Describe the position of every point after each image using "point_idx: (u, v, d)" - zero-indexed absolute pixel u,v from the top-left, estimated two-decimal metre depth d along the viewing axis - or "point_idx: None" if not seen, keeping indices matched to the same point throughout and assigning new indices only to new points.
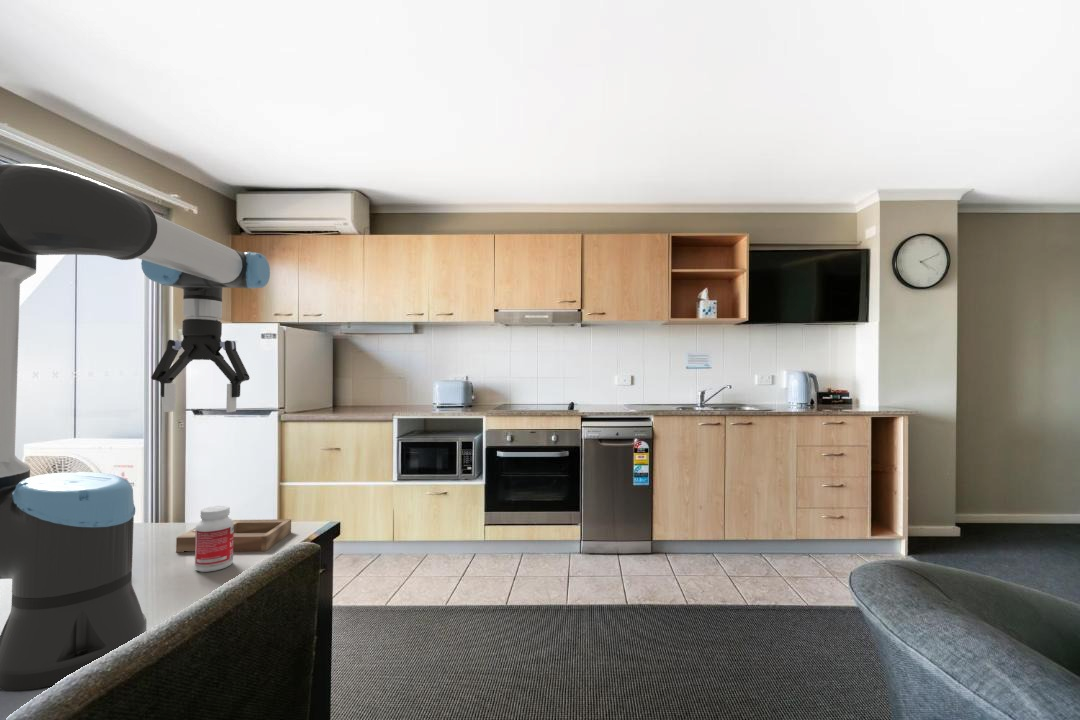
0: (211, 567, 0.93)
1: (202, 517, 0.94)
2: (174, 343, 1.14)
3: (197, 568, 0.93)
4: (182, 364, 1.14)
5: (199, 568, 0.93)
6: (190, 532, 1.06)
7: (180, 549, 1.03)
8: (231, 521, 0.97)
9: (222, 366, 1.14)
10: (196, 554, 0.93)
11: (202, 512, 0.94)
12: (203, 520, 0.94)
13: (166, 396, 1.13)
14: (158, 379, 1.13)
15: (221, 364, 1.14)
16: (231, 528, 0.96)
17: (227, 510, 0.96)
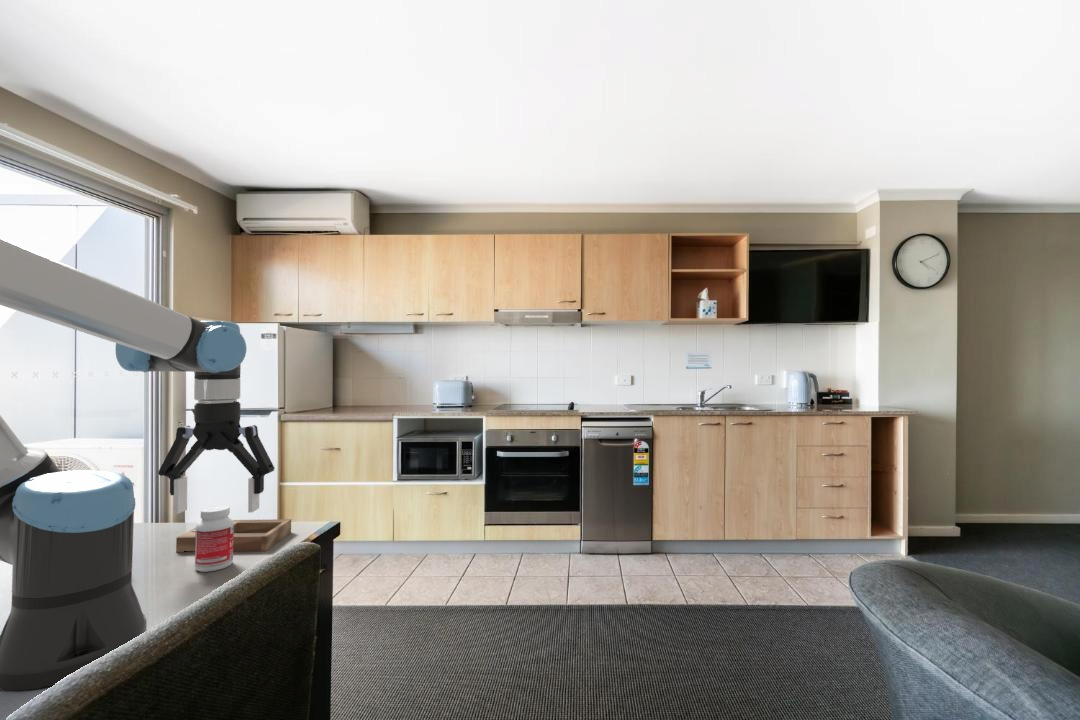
0: (211, 567, 0.93)
1: (202, 517, 0.94)
2: (185, 431, 0.95)
3: (197, 568, 0.93)
4: (194, 455, 0.96)
5: (199, 568, 0.93)
6: (190, 532, 1.06)
7: (180, 549, 1.03)
8: (231, 521, 0.97)
9: (242, 457, 0.96)
10: (196, 554, 0.93)
11: (202, 512, 0.94)
12: (203, 520, 0.94)
13: (176, 495, 0.95)
14: (166, 474, 0.95)
15: (240, 455, 0.96)
16: (231, 528, 0.96)
17: (227, 510, 0.96)
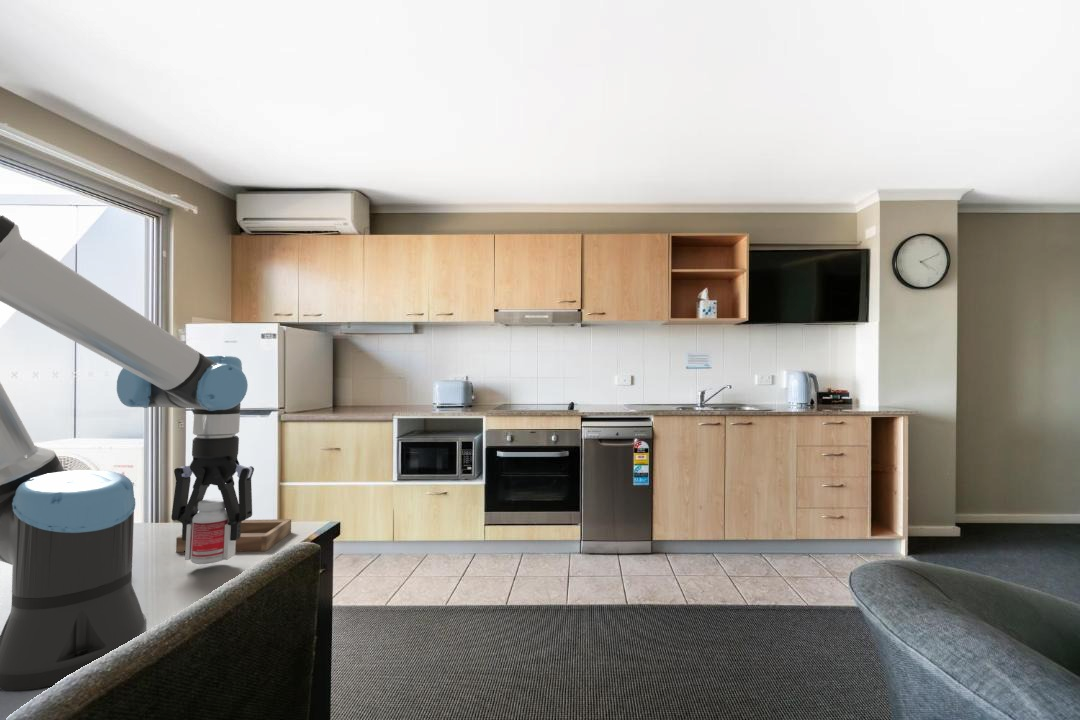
0: (207, 559, 0.92)
1: (199, 509, 0.94)
2: (182, 470, 0.95)
3: (193, 560, 0.92)
4: (200, 494, 0.95)
5: (195, 560, 0.92)
6: None
7: (180, 549, 1.03)
8: None
9: (227, 500, 0.95)
10: (192, 546, 0.93)
11: (199, 504, 0.94)
12: (200, 512, 0.94)
13: (188, 540, 0.94)
14: (179, 519, 0.95)
15: (227, 496, 0.95)
16: (228, 521, 0.96)
17: None
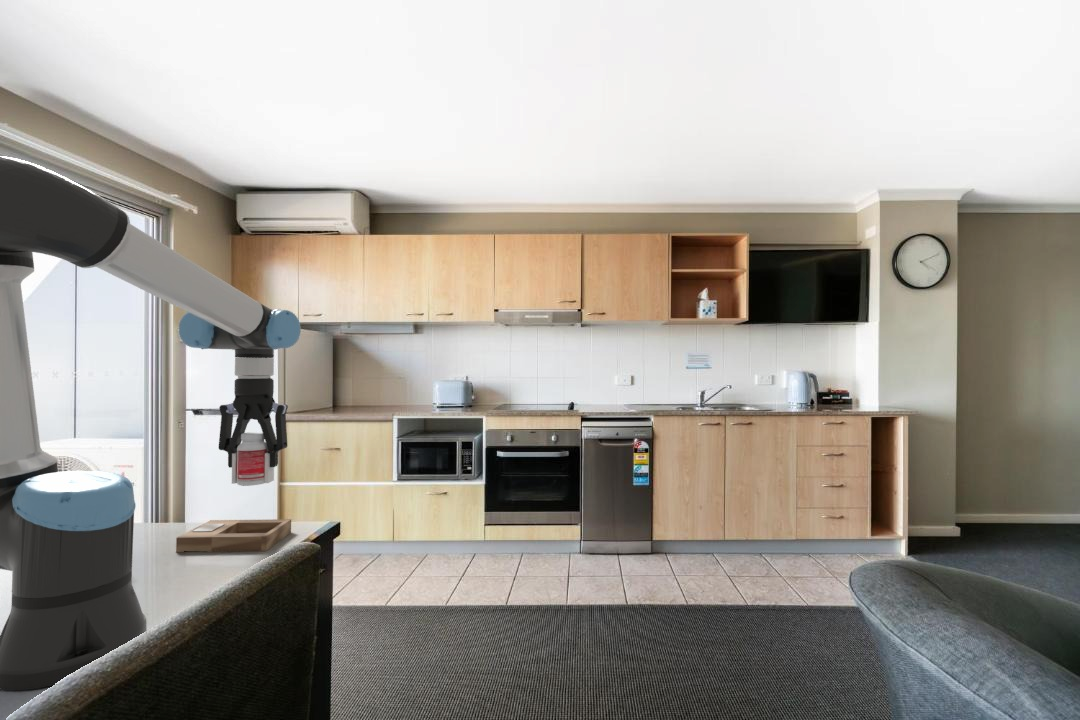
0: (251, 482, 1.07)
1: (243, 439, 1.08)
2: (226, 407, 1.09)
3: (239, 482, 1.07)
4: (242, 427, 1.10)
5: (241, 482, 1.07)
6: (190, 532, 1.06)
7: (180, 549, 1.03)
8: None
9: (266, 432, 1.09)
10: (238, 470, 1.08)
11: (242, 435, 1.08)
12: (243, 442, 1.09)
13: (234, 467, 1.09)
14: (225, 449, 1.09)
15: (266, 429, 1.09)
16: (267, 450, 1.11)
17: None
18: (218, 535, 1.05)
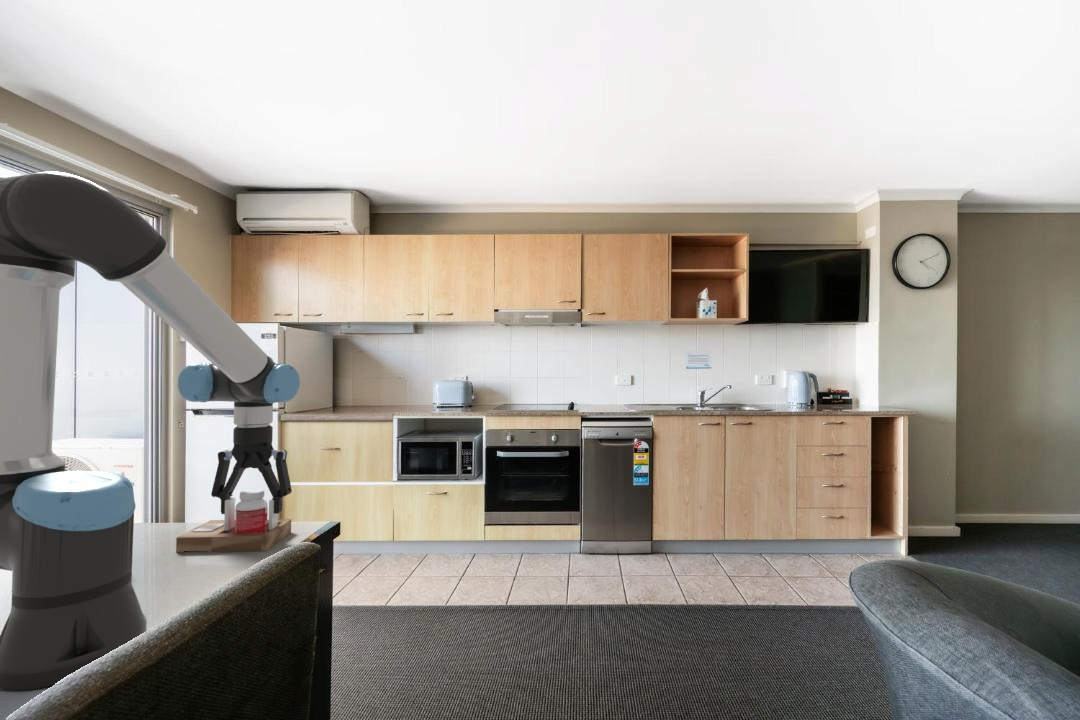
0: None
1: (241, 498, 1.08)
2: (224, 454, 1.09)
3: None
4: (238, 475, 1.09)
5: None
6: (190, 532, 1.06)
7: (180, 549, 1.03)
8: (266, 502, 1.11)
9: (268, 479, 1.09)
10: (236, 530, 1.07)
11: (241, 494, 1.08)
12: (242, 501, 1.08)
13: (227, 514, 1.08)
14: (217, 495, 1.09)
15: (267, 476, 1.09)
16: (266, 508, 1.10)
17: (262, 492, 1.10)
18: (218, 535, 1.05)
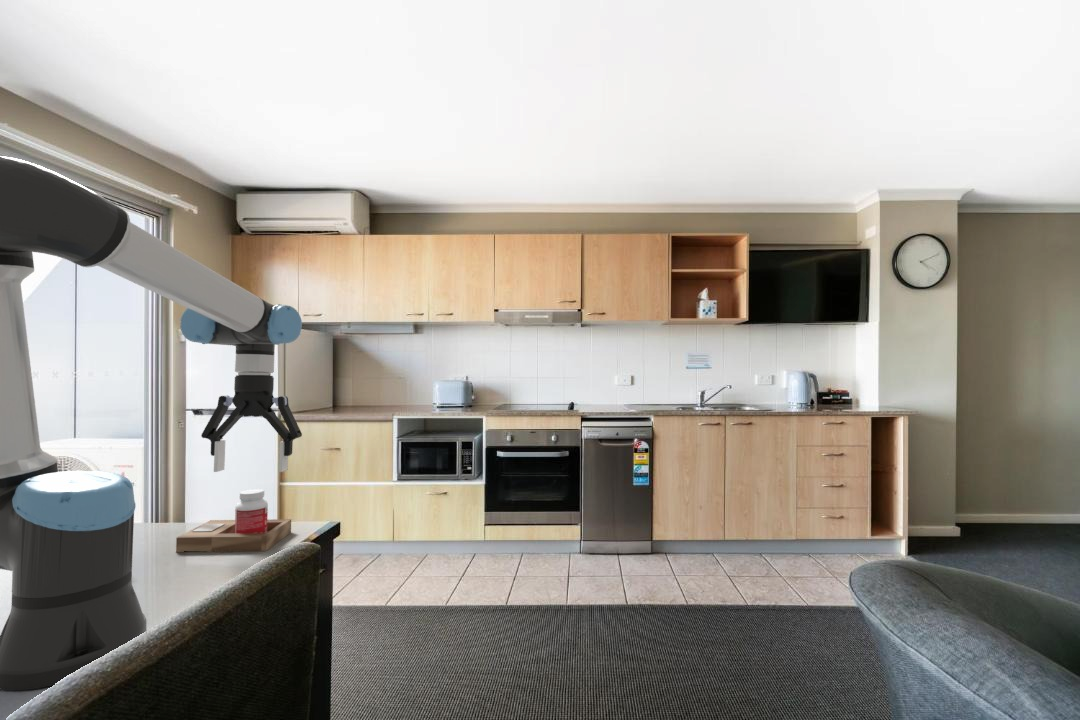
0: None
1: (241, 498, 1.08)
2: (225, 399, 1.09)
3: None
4: (233, 421, 1.09)
5: None
6: (190, 532, 1.06)
7: (180, 549, 1.03)
8: (266, 502, 1.11)
9: (275, 423, 1.09)
10: (236, 530, 1.07)
11: (241, 494, 1.08)
12: (242, 501, 1.08)
13: (216, 455, 1.08)
14: (208, 437, 1.09)
15: (273, 421, 1.09)
16: (266, 508, 1.10)
17: (262, 492, 1.10)
18: (218, 535, 1.05)
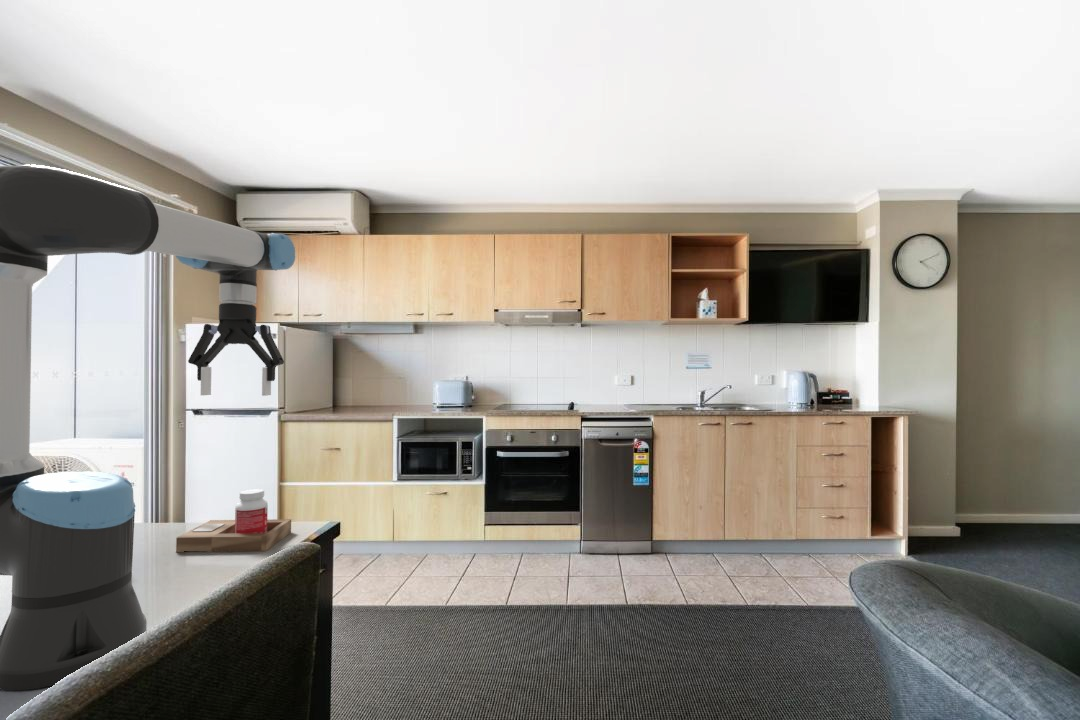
0: None
1: (241, 498, 1.08)
2: (210, 327, 1.15)
3: None
4: (218, 348, 1.15)
5: None
6: (190, 532, 1.06)
7: (180, 549, 1.03)
8: (265, 502, 1.11)
9: (258, 350, 1.15)
10: (236, 530, 1.07)
11: (241, 494, 1.08)
12: (242, 501, 1.08)
13: (203, 379, 1.14)
14: (194, 363, 1.15)
15: (256, 348, 1.15)
16: (266, 508, 1.10)
17: (262, 492, 1.10)
18: (218, 535, 1.05)
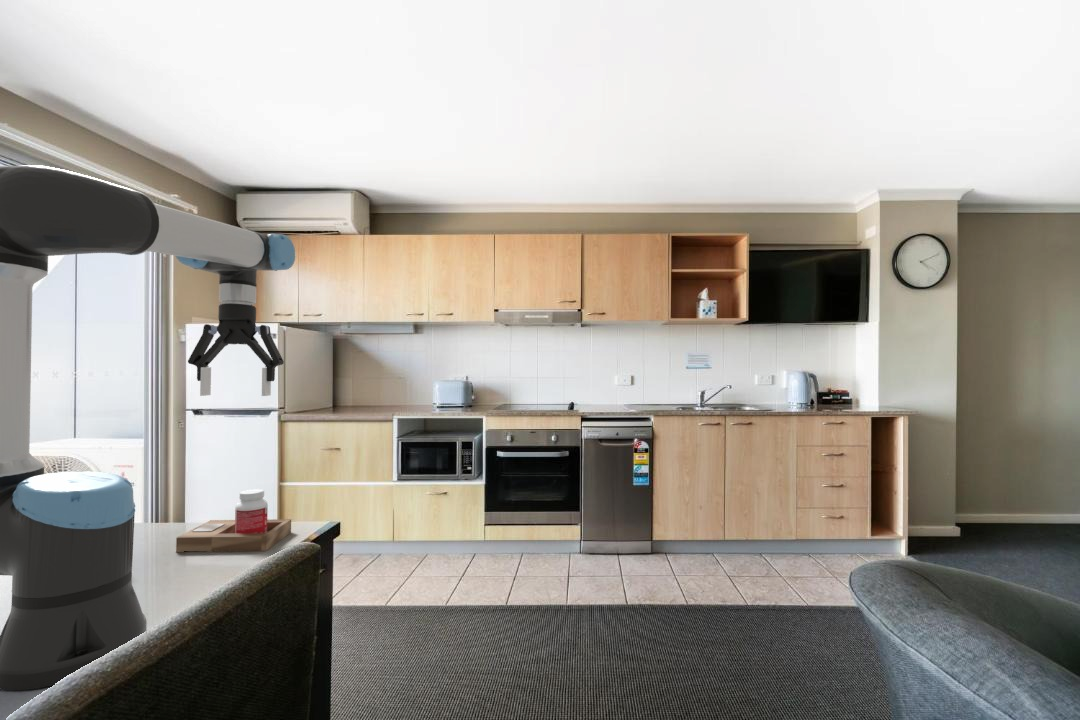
0: None
1: (241, 498, 1.08)
2: (210, 327, 1.15)
3: None
4: (218, 348, 1.15)
5: None
6: (190, 532, 1.06)
7: (180, 549, 1.03)
8: (265, 502, 1.10)
9: (257, 350, 1.15)
10: (236, 530, 1.07)
11: (241, 494, 1.08)
12: (242, 501, 1.08)
13: (202, 380, 1.14)
14: (194, 363, 1.15)
15: (256, 348, 1.15)
16: (266, 508, 1.10)
17: (262, 493, 1.10)
18: (218, 535, 1.05)
